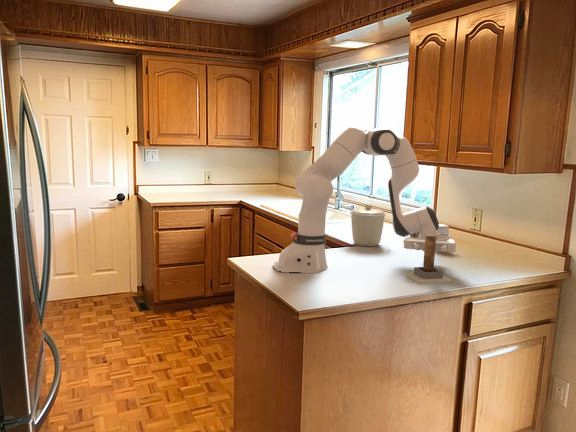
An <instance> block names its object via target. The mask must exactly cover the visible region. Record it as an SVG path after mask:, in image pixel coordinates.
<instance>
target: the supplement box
mask: <svg viewBox="0 0 576 432" xmlns="http://www.w3.org/2000/svg"><path fill="white" fill-rule="evenodd" d="M438 224H439V228H438V230H437V231H438V233H440V234H444V235H449V229H450V226H449V225H447V224H443V223H438Z"/></svg>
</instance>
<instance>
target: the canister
mask: <svg viewBox="0 0 576 432" xmlns="http://www.w3.org/2000/svg"><path fill="white" fill-rule="evenodd" d="M349 213H350V218H351V232H352V233H351V234H352V240H353V243H354V244H355V245H358V246H360V247H376V246H378V245H379V244H380V243H381V239H382V235H383V229H384V222H385V216H387V213H386V212H385V211H384V210H381V209H378V208H373V204H371V203H365V204H364V207H360V208H354V209H353V210H350V212H349Z"/></svg>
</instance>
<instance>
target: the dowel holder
mask: <svg viewBox="0 0 576 432" xmlns="http://www.w3.org/2000/svg"><path fill="white" fill-rule="evenodd" d="M404 276H406V277H407V278H408V279H410V280H411V281H413V282H415V283H416V284H419V285H420V284H439V283H441V284H443V283H452V282H453V279H452V278H450V277H448V276H446V275H445V274H444V272H443V271H442V270H439V269H438V268H436V267H434V272H424V271H423V266H415V267H413V271H404Z"/></svg>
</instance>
